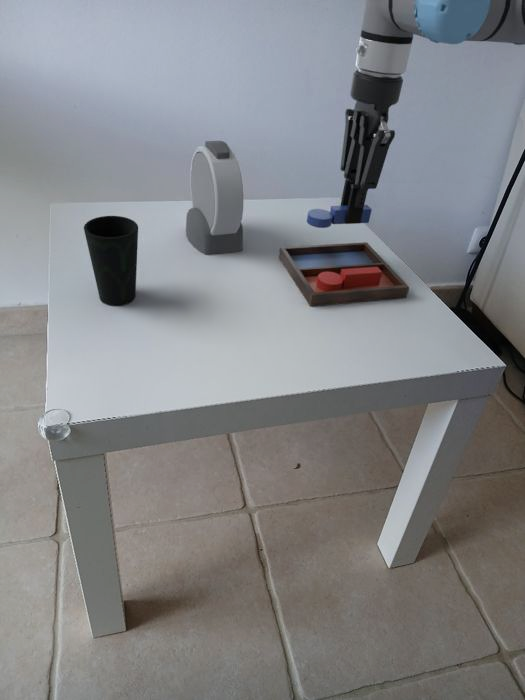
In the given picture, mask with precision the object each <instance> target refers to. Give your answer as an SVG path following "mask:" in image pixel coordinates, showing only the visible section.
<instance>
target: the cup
mask: <svg viewBox="0 0 525 700" xmlns="http://www.w3.org/2000/svg"><path fill="white" fill-rule="evenodd" d="M83 231H84V236H85V240H86V244H87V245H86V246H87V248H88V249H87V250H88V253H89V257H90V260H91V267H92V270H93V274H94V279H95V284H96V288H97V292H98V297H99V300H100V301H101V302H102V304H105V305H107V306H112V307H121V306H125V305H129V304H131V303H132V302H134V301H135V299H136V297H137V296H136V295H137V294H136V293H137V269H138V243H139V225H138V223H137V222H136V221H135V220H133V219H131V218H128V217H124V216H120V215H103V216H98V217H95V218H92V219H90V220H88V221H87V222H86V223H85V224H84V225H83Z"/></svg>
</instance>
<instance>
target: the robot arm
mask: <svg viewBox="0 0 525 700" xmlns="http://www.w3.org/2000/svg"><path fill="white" fill-rule="evenodd" d="M415 35H416V36H418V37H422V38H425V39H427V40H429V41H430V42H432V43H436V44H439V43H442V44H448V45H458V44H462V43H463V42H488V43H489V42H490V43H504V44H513V45H516V46H522V45H525V0H365V5H364V11H363V17H362V23H361V31H360V36H359V41H358V45H357V46H356V48H355V51H356V59H355V67H356V68H357V69H356V70H355V71H354V72H353V74H352V79H351V85H350V91H349V96H350V98H351V99H352V100H353V101H355V103H354V107H353V108H346V109H345V112H344V114H345V115H344V116H345V118H344V119H345V125H344V126H345V127H344V134H343V142H342V151H341V160H340V171H341V172H343V178H344V184H343V190H342V194H341V195H342V196H341V201H340V205H339V206H345V205H348V207H347V212H346V217H345V223H346V224H345V225H354V224H355V225H356V224H361V223H360V222H361V217H362V213H363V208H364V205H366V199H367V196H368V192H369V191H368V190H373V189H374V190H375V189H377V187H378V184H379V181H380V178H381V174H382V172H383V168H384V164H385V161H386V158H387V155H388V152H389V149H390V146H391V144H392V142H393V141H394V139H395V136H396V131H395V129H393V130H392V129H389V126H388V122H389V112H390V111H389V110H390V108H391V107H392V106H394V105H396V104H398V103H399V100H400V96H401V93H402V87H403V82H404V79H403V77H402V76H401V75H404V74H405V73H406V72H407V67H408V63H409V57H410V53H411V50H412V44H413V39H414V36H415Z"/></svg>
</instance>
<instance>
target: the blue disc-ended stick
mask: <svg viewBox="0 0 525 700" xmlns="http://www.w3.org/2000/svg"><path fill="white" fill-rule="evenodd" d="M347 207H348V205H345V206H340V205H331V206H330V210H326V209H322V208H312V209H309V210H308V211H307V215H306V223H307V224H308V225H310V226H311V227H314V228H319V229H327V228H330V227H331V226H332V225H347V224H346V223H345V217H346V212H347ZM372 211H373V208H371V207H370V206H369V205H368V204H364V208H363V213H362V217H361V222H360V223H359V224H369V223H370V219H371V215H372Z"/></svg>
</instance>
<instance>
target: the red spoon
mask: <svg viewBox="0 0 525 700" xmlns="http://www.w3.org/2000/svg"><path fill="white" fill-rule="evenodd" d="M381 275H382V271H381V270H380V269H379V268H378V267H367V268H352V269H341V273H340V275H339V274H337V273H334V272H322V273H320V274H319V275H318V278H317V287H318V288H319V289H320V290H322V291H325V292H327V291H339V290H341V289H342V287H343V288H347V287H359V286H372V285H379V283H380V279H381Z"/></svg>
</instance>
